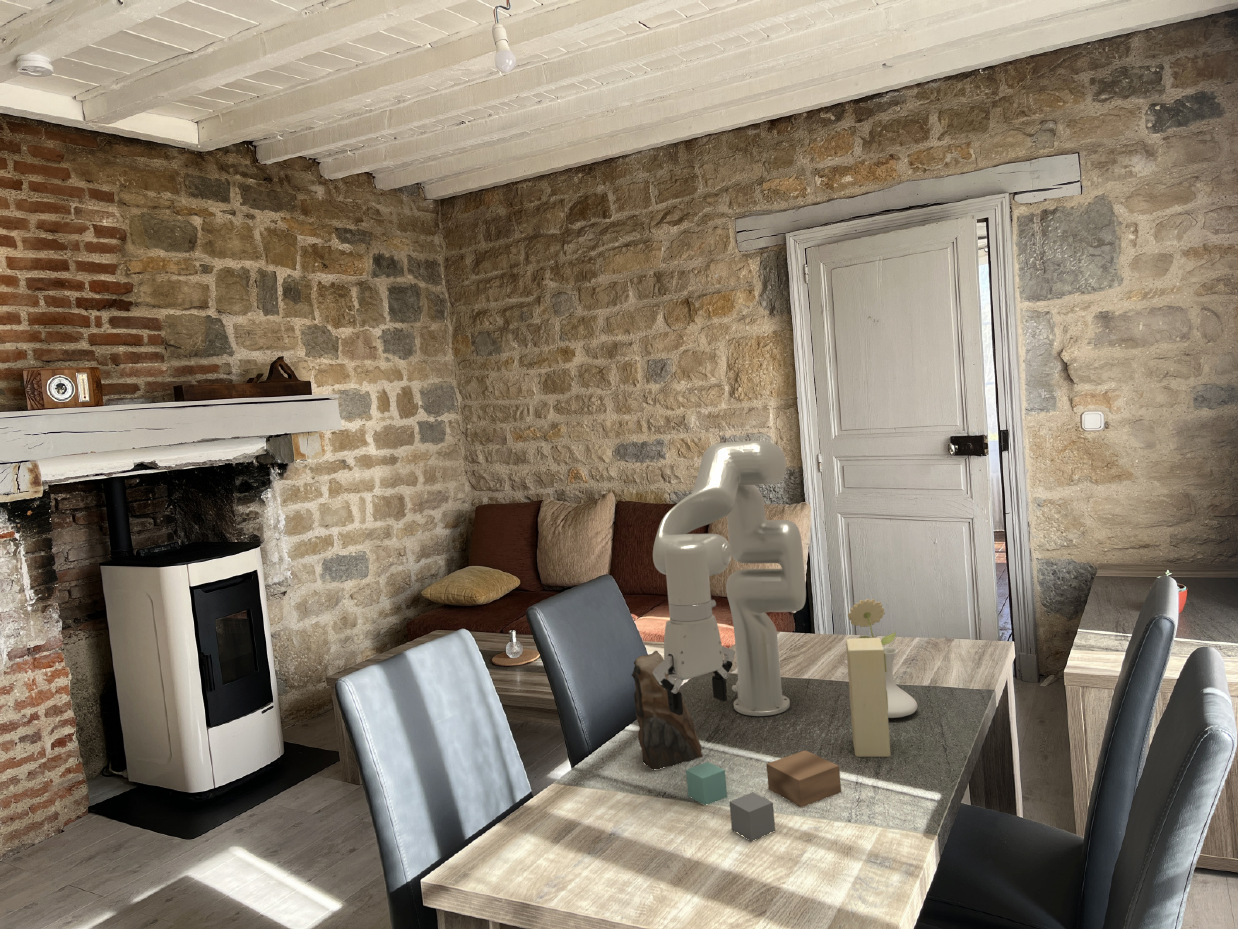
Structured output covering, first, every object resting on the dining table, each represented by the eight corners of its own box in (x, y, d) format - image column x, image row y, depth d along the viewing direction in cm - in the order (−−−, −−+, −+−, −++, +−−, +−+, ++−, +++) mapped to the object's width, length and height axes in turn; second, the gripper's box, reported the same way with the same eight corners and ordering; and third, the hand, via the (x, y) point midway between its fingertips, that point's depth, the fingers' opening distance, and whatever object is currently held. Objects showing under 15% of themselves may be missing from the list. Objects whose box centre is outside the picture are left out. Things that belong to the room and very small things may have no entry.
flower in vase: (918, 704, 191) (910, 591, 190) (918, 724, 181) (909, 605, 179) (856, 703, 196) (848, 593, 194) (853, 722, 185) (844, 605, 183)
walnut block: (768, 790, 158) (766, 763, 157) (807, 776, 162) (805, 750, 162) (801, 809, 150) (799, 780, 149) (841, 793, 154) (839, 766, 154)
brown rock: (649, 774, 169) (639, 672, 168) (620, 753, 180) (611, 658, 179) (705, 757, 174) (696, 659, 173) (674, 737, 186) (665, 645, 184)
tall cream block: (895, 757, 166) (887, 648, 164) (855, 757, 167) (847, 650, 166) (891, 740, 174) (883, 636, 172) (852, 741, 175) (844, 638, 174)
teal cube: (688, 796, 158) (685, 769, 158) (710, 788, 161) (707, 761, 160) (704, 806, 154) (702, 778, 153) (727, 797, 156) (724, 770, 156)
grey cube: (731, 831, 144) (729, 801, 144) (755, 821, 147) (752, 792, 146) (751, 842, 140) (749, 812, 140) (775, 832, 142) (772, 802, 142)
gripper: (716, 599, 162) (724, 690, 163) (638, 617, 153) (646, 713, 154) (742, 605, 156) (750, 699, 157) (662, 624, 147) (670, 724, 148)
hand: (698, 706), depth 156 cm, fingers open, 9 cm apart
